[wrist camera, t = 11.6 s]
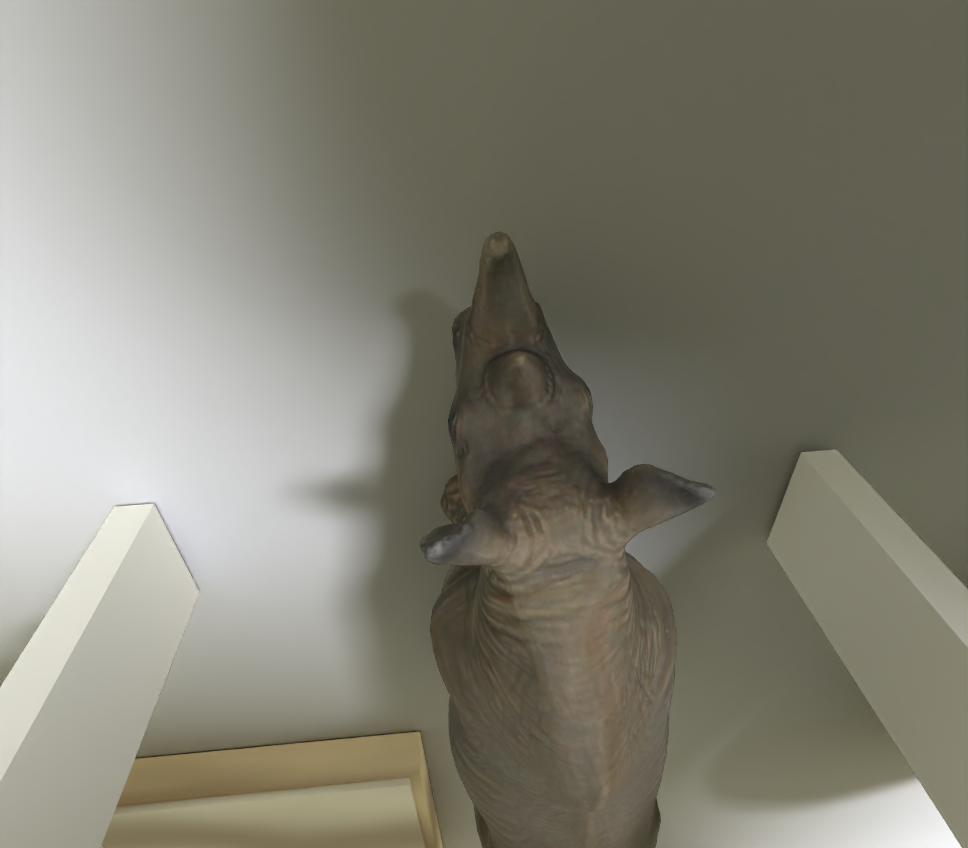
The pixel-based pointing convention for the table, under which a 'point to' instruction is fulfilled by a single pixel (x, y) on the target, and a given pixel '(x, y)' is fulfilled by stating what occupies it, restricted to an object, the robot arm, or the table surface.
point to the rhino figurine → (548, 591)
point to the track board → (282, 797)
